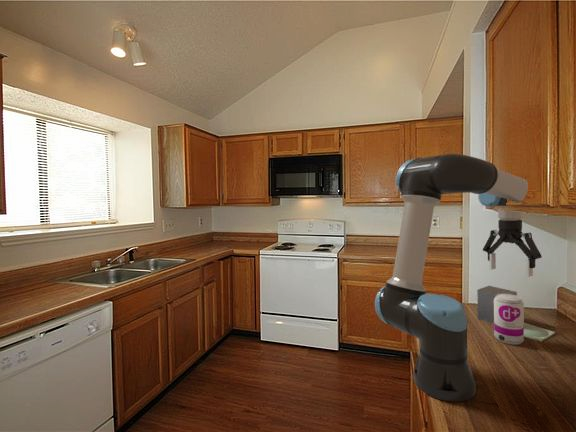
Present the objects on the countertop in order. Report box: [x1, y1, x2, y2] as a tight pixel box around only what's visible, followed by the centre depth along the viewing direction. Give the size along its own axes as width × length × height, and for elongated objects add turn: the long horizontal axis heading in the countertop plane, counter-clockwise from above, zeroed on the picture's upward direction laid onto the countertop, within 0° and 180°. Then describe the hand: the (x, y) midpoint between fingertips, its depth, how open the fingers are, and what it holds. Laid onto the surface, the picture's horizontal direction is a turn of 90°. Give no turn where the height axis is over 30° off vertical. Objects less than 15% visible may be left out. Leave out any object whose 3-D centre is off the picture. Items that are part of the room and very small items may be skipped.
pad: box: [524, 322, 556, 342], centre depth 109 cm, size 10×10×1 cm
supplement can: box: [493, 294, 525, 346], centre depth 104 cm, size 8×8×15 cm
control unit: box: [476, 285, 518, 324], centre depth 119 cm, size 8×10×12 cm
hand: (510, 272), depth 122 cm, fingers open, 13 cm apart
